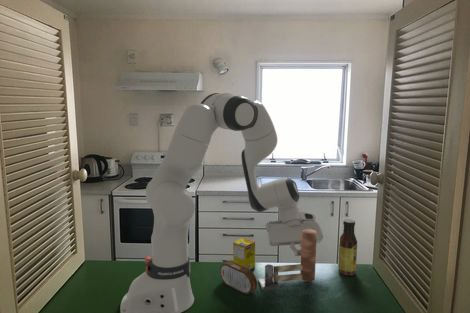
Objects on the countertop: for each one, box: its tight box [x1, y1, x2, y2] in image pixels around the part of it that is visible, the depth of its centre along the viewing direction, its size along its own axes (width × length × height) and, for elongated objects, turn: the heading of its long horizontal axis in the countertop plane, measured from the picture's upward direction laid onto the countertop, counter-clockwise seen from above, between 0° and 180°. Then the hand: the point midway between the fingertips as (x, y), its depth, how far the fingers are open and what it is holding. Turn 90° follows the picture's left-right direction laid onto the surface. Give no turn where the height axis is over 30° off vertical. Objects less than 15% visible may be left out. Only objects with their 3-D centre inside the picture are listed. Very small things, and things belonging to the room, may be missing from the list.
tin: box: [219, 260, 258, 295], centre depth 117 cm, size 15×3×8 cm, turn 47°
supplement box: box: [232, 237, 256, 271], centre depth 130 cm, size 6×6×11 cm
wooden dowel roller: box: [273, 229, 317, 283], centre depth 119 cm, size 15×5×17 cm, turn 100°
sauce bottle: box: [338, 219, 358, 277], centre depth 127 cm, size 6×6×20 cm
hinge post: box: [257, 264, 281, 292], centre depth 119 cm, size 6×6×7 cm
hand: (299, 255), depth 124 cm, fingers closed
